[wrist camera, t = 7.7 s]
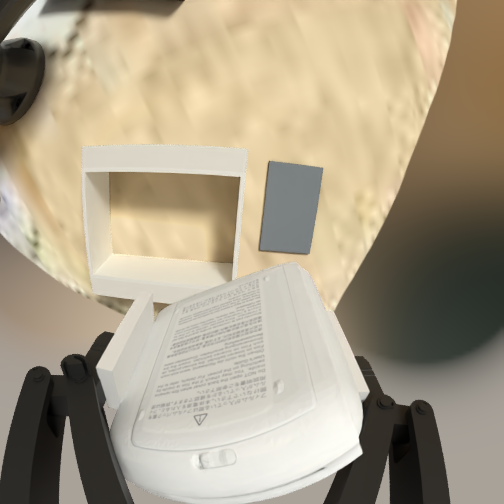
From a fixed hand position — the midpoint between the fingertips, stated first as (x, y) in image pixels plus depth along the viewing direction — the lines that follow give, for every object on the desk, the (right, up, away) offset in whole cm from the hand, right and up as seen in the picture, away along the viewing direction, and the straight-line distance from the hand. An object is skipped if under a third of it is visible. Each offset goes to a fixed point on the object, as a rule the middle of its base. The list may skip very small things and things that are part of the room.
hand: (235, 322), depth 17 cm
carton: (-10, +9, +21) cm, 25 cm away
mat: (+6, +10, +22) cm, 24 cm away
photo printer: (0, +1, +2) cm, 2 cm away
